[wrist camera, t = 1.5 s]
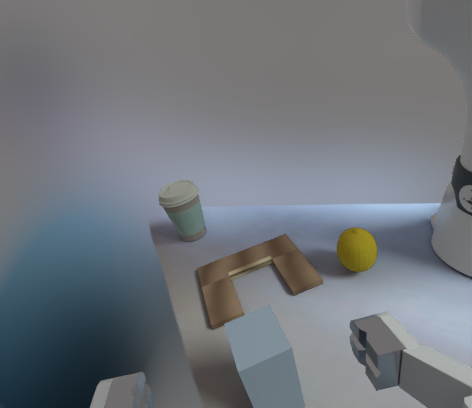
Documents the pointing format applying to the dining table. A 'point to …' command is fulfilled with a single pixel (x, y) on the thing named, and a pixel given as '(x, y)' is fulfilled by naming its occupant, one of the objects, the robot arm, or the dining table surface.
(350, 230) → the lemon
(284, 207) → the dining table surface
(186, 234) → the coffee cup
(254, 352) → the blue-grey rectangular block
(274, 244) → the wooden u-shaped frame
